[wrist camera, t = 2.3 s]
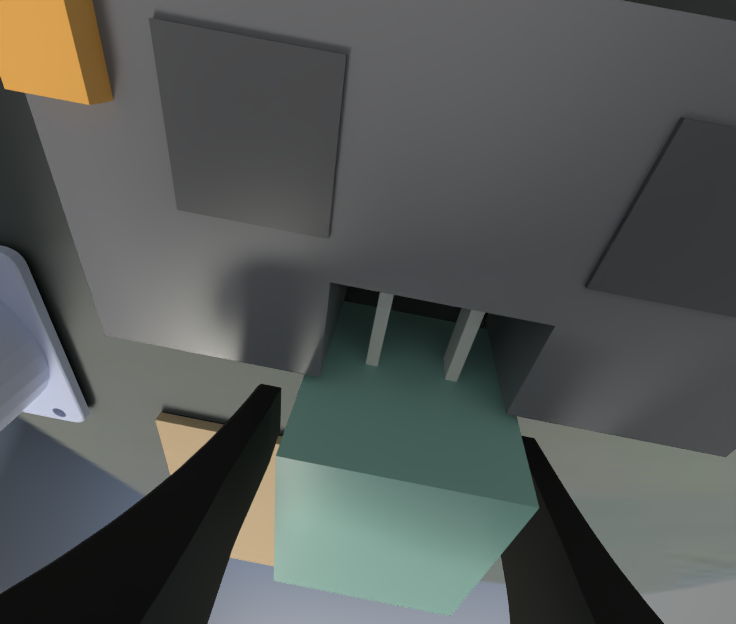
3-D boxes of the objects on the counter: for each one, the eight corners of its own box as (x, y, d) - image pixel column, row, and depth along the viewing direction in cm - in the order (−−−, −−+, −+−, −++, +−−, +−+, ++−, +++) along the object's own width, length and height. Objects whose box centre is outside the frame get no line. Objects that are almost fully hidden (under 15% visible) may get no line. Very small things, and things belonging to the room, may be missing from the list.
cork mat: (194, 542, 23) (191, 549, 22) (161, 412, 16) (155, 420, 15) (392, 582, 23) (391, 590, 22) (446, 468, 16) (447, 477, 15)
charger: (318, 421, 15) (273, 581, 11) (341, 223, 10) (276, 363, 6) (442, 446, 15) (450, 616, 11) (525, 259, 10) (605, 427, 6)
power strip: (184, 262, 11) (88, 349, 8) (137, -58, 7) (-94, -141, 4) (649, 352, 11) (741, 478, 8) (864, 77, 7) (1233, 104, 4)
